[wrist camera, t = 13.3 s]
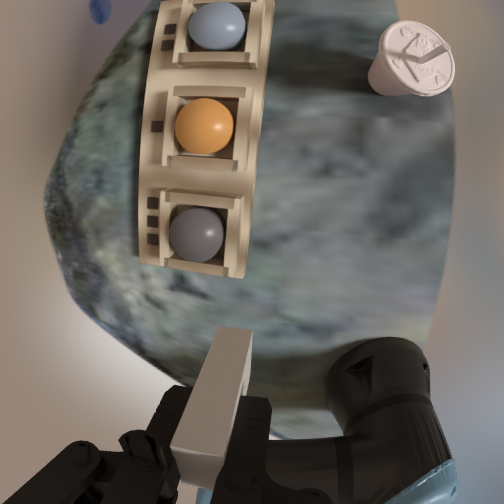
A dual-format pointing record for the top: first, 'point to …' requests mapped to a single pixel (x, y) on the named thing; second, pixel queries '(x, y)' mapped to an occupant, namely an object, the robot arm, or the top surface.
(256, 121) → the button panel
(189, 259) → the charcoal button
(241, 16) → the blue button
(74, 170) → the top surface
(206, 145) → the orange button
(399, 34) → the smoothie
